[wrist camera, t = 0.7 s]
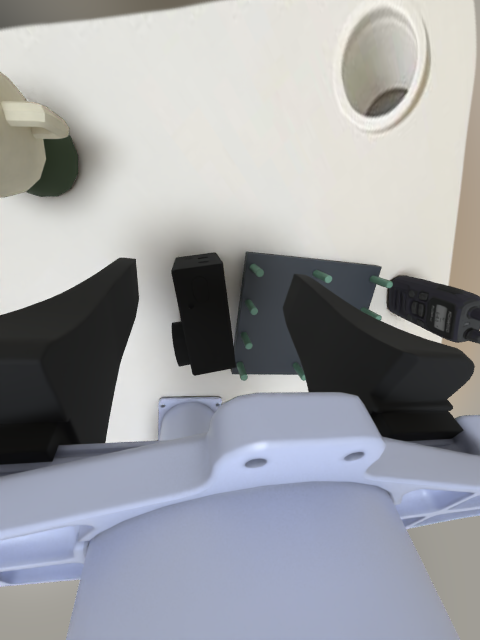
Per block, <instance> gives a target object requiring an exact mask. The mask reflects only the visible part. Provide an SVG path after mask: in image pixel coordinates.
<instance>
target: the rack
mask: <svg viewBox="0 0 480 640" xmlns="http://www.w3.org/2000/svg"><path fill="white" fill-rule="evenodd" d="M380 271H381V267H380V266H376V265H367V264H358V263H349V262H339V261H330V260H321V259H311V258H302V257H293V256H284V255H274V254H265V253H256V252H246V256H245V264H244V272H243V280H242V287H241V295H240V303H239V311H238V319H237V327H236V335H235V342H234V354H235V362H236V368H232V369H231V372H232V374H240V377H241V380H243V381H245V380H247V378H248V376H247V374H283V375H299V377H300V378H301V379H302V380H303V381H304V380H306V378H305V374H304V371H303V367H302V364H301V361H300V359H299V356H298V354H297V351H296V348H295V346H294V343H293V341H292V338H291V336H290V333H289V331H288V328H287V325H286V322H285V318H284V313H283V305H284V302H285V299H286V296H287V293H288V290H289V287H290V284H291V282H292V279H293V276H294V274H302V275H307V276H309V277H311V278H313V279H314V280H316V281H317V282H319V283H320V284H321V285H323V286H324V287H326V288H327V289H329V290H330V291H331V292H333V293H334V294H336V295H337V296H339V297H340V298H342V299H343V300H345V301H346V302H348V303H349V304H351V305H352V306H354V307H356V308H357V309H359V310H361V311H362V312H364V313H366V314H368V315H370V316H372V317H374V318H376V319H378V320H381V316H380V315H378V314H376V313H374V312H372V311H370V310H369V306H370V303H371V300H372V296H373V293H374V290H375V287H376V284H378V285H380V286H383V287H386V288H391V287H392V286H393V282H392V281H389V280H386V279H383V278H380V277H379V274H380Z"/></svg>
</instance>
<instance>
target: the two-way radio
mask: <svg viewBox="0 0 480 640" xmlns="http://www.w3.org/2000/svg"><path fill="white" fill-rule="evenodd" d="M392 282H393V286H392V287H391V288H389V310H390V311H391V312H392V313H394V314H396V315H398V316H400V317H402V318H404V319H406V320H408V321H410V322H412V323H414V324H416V325H418V326H420V327H422V328H424V329H426V330H428V331H430V332H432V333H434V334H436V335H438V336H440V337H442V338H445V339H447V340H450V341H453V342H458V343H459V342H465V341H472V342H475V343H479V344H480V331H479V329H480V297H479V296H478V295H475V294H473V293H470V292H467V291H464V290H461V289H458V288H454V287H451V286H447V285H443V284H438V283H434V282H430V281H427V280H423V279H418V278H414V277H409V276H399V277H397V278H395V279H393V280H392Z"/></svg>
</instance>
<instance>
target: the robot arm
mask: <svg viewBox="0 0 480 640" xmlns="http://www.w3.org/2000/svg"><path fill="white" fill-rule="evenodd" d="M138 302H139V293H138V281H137V269H136V259H130V258H119V259H117V260H116V261H114V262H113V263H111V264H110V265H108V266H107V267H105V268H104V269H102V270H101V271H99V272H98V273H96V274H95V275H93V276H92V277H90V278H88V279H87V280H85V281H83V282H82V283H80V284H78V285H76V286H75V287H73V288H71V289H69V290H67V291H65V292H63V293H61V294H59V295H56V296H54V297H52V298H50V299H47V300H45V301H42V302H39V303H36V304H34V305H31V306H28V307H25V308H23V309H20V310H17V311H13V312H10V313H7V314H3V315H0V587H2V586H12V585H23V584H35V583H46V582H57V581H68V580H80V583H79V587H78V591H77V596H76V600H75V604H74V608H73V612H72V617H71V621H70V625H69V629H68V633H67V637H66V640H460V638H459V636H458V634H457V632H456V630H455V628H454V626H453V624H452V622H451V620H450V618H449V616H448V614H447V612H446V610H445V607H444V605H443V603H442V601H441V599H440V597H439V596H438V593H437V591H436V589H435V587H434V585H433V583H432V581H431V579H430V577H429V575H428V573H427V571H426V569H425V567H424V565H423V563H422V560H421V558H420V556H419V554H418V552H417V550H416V548H415V546H414V544H413V542H412V540H411V538H410V536H409V534H408V532H407V530H406V529H409V528H414V527H419V526H423V525H429V524H434V523H439V522H444V521H449V520H455V519H461V518H466V517H472V516H479V515H480V415H465V416H460V417H457V418H455V419H454V418H453V416H452V415H451V414H450V412H448V411H451V410H452V409H453V406H452V405H451V403H450V402H449V401H448V400H447V399H448V398H449V397H450V396H452V394H454V393H455V392H456V391H457V390H458V389H460V388H461V387H462V386H463V385H464V384H465V383H466V382H467V381H468V380H469V379H470V377H471V376H472V374H473V372H474V363H473V362H472V361H471V360H470V359H469V358H468V357H467V356H466V355H465V354H464V353H463V352H462V351H461V350H459V349H457V348H454V347H451V346H447V345H444V344H440V343H437V342H434V341H430V340H427V339H424V338H421V337H419V336H416V335H413V334H410V333H408V332H405V331H402V330H400V329H397V328H395V327H393V326H391V325H388V324H386V323H384V322H382V321H380V320H378V319H376V318H374V317H372V316H370V315H368V314H366V313H364V312H362V311H361V310H359V309H357V308H356V307H354V306H352V305H351V304H349V303H348V302H346V301H345V300H343V299H342V298H340V297H339V296H337V295H336V294H334V293H333V292H331V291H330V290H329V289H327V288H326V287H324V286H323V285H321V284H320V283H319V282H317V281H316V280H314V279H313V278H311V277H309V276H307V275H302V274H294V276H293V279H292V282H291V284H290V287H289V290H288V293H287V296H286V299H285V302H284V305H283V313H284V318H285V322H286V325H287V328H288V331H289V333H290V336H291V338H292V341H293V343H294V346H295V348H296V351H297V354H298V356H299V359H300V361H301V364H302V367H303V371H304V374H305V378H306V382H307V386H308V390H309V392H298V393H253V394H247V395H241V396H237V397H235V398H233V399H231V400H229V401H227V402H225V403H223V404H222V400H221V398H220V397H189V398H161V399H160V400H159V423H158V441H141V442H119V443H105V441H106V435H107V429H108V423H109V417H110V412H111V406H112V401H113V396H114V391H115V385H116V381H117V376H118V371H119V366H120V363H121V359H122V356H123V353H124V350H125V347H126V344H127V341H128V338H129V336H130V333H131V330H132V327H133V324H134V321H135V318H136V313H137V307H138ZM217 403H219V404H218V405H216V404H217ZM162 404H164V406H162ZM221 404H222V405H221Z"/></svg>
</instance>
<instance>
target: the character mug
mask: <svg viewBox="0 0 480 640" xmlns="http://www.w3.org/2000/svg"><path fill="white" fill-rule="evenodd" d="M77 175H78V154H77V152H76V149H75V147H74V144H73V142H72V139H71V137H70V136H69V127H68V126H67V124H66V123H65V121H64V120H63V119H62V118H61V117H59V116H58V115H57V114H55V113H54V112H53V111H51V110H50V109H49V108H47V107H45V106H43V105H40V104H38V103H35V102H27V101H26V99H25V98H24V96H23V95H22V94H21V92H20V91H19V90H18V88H17V87H16V86H15V85H14V84H13V83H12V82H11V81H10V80H9V78H8V77H6V76H5V75H4V74H3V73H1V72H0V198H2V197H8V196H12V195H16V194H20V193H24V192H27V193H30V194H34V195H37V196H41V197H43V196H59V195H61V194H63V193H64V192H66V191H67V190H69V189H71V188H72V185H73V183H74V181H75V179H76V177H77Z"/></svg>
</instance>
